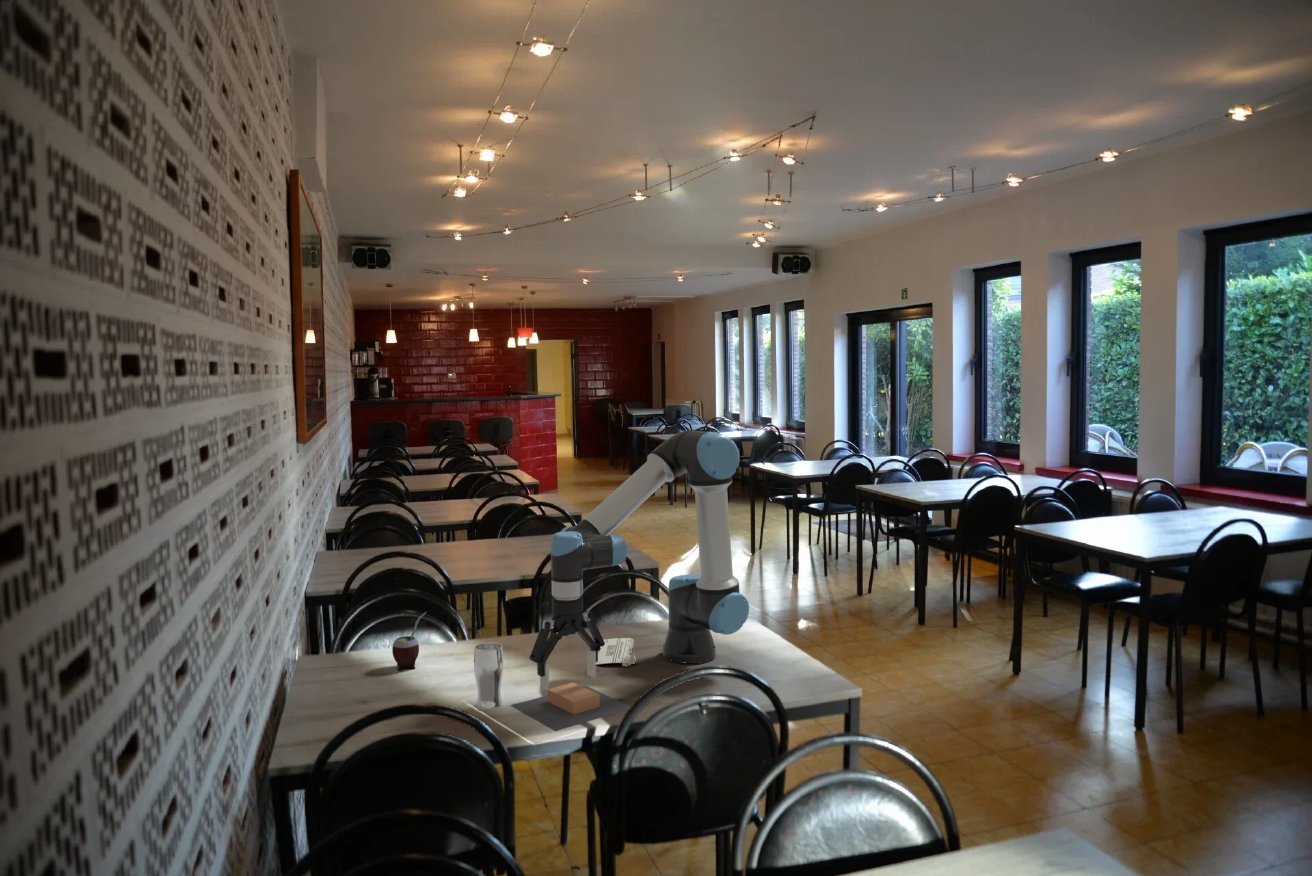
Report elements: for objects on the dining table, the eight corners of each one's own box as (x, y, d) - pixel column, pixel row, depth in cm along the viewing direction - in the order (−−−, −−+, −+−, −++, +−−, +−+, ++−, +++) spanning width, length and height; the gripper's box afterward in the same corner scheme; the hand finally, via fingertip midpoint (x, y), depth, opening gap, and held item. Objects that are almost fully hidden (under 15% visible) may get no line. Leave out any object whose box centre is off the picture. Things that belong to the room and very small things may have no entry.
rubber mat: (585, 686, 233) (585, 685, 233) (633, 709, 218) (633, 707, 218) (510, 706, 219) (510, 705, 219) (555, 732, 204) (555, 731, 204)
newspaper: (636, 669, 248) (635, 660, 248) (591, 673, 249) (590, 664, 249) (640, 643, 271) (639, 635, 271) (599, 647, 271) (598, 638, 271)
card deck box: (572, 682, 226) (599, 694, 218) (573, 694, 227) (599, 706, 218) (547, 689, 222) (574, 702, 213) (547, 701, 222) (574, 714, 213)
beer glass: (505, 701, 223) (504, 641, 222) (501, 712, 216) (501, 650, 215) (477, 702, 222) (476, 642, 221) (472, 712, 216) (471, 650, 214)
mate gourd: (387, 669, 246) (385, 615, 245) (407, 661, 253) (406, 608, 252) (408, 673, 243) (406, 618, 242) (428, 665, 250) (427, 611, 249)
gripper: (600, 585, 230) (601, 667, 232) (514, 602, 214) (515, 689, 216) (618, 590, 224) (618, 674, 226) (530, 608, 209) (532, 698, 210)
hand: (568, 682), depth 221 cm, fingers open, 13 cm apart
